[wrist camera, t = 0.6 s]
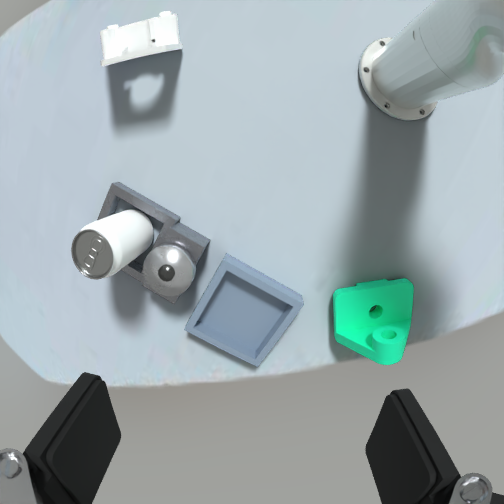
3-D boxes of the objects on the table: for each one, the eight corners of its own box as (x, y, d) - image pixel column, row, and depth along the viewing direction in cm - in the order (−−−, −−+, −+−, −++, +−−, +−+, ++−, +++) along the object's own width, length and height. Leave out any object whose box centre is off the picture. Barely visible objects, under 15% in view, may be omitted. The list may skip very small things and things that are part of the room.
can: (163, 226, 40) (126, 250, 29) (140, 262, 42) (101, 294, 30) (128, 199, 40) (82, 213, 28) (107, 235, 41) (61, 259, 30)
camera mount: (406, 274, 41) (439, 303, 31) (404, 319, 43) (431, 354, 33) (331, 286, 42) (348, 321, 32) (332, 332, 44) (347, 373, 34)
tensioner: (119, 182, 39) (96, 185, 33) (217, 238, 41) (208, 250, 34) (94, 244, 42) (71, 256, 35) (183, 298, 43) (171, 319, 37)
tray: (226, 253, 41) (223, 259, 38) (301, 295, 42) (303, 304, 39) (188, 319, 44) (183, 329, 41) (258, 355, 45) (257, 366, 42)
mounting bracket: (113, 63, 36) (77, 74, 28) (108, 28, 32) (71, 30, 24) (187, 48, 35) (166, 51, 27) (183, 9, 31) (161, 2, 23)
